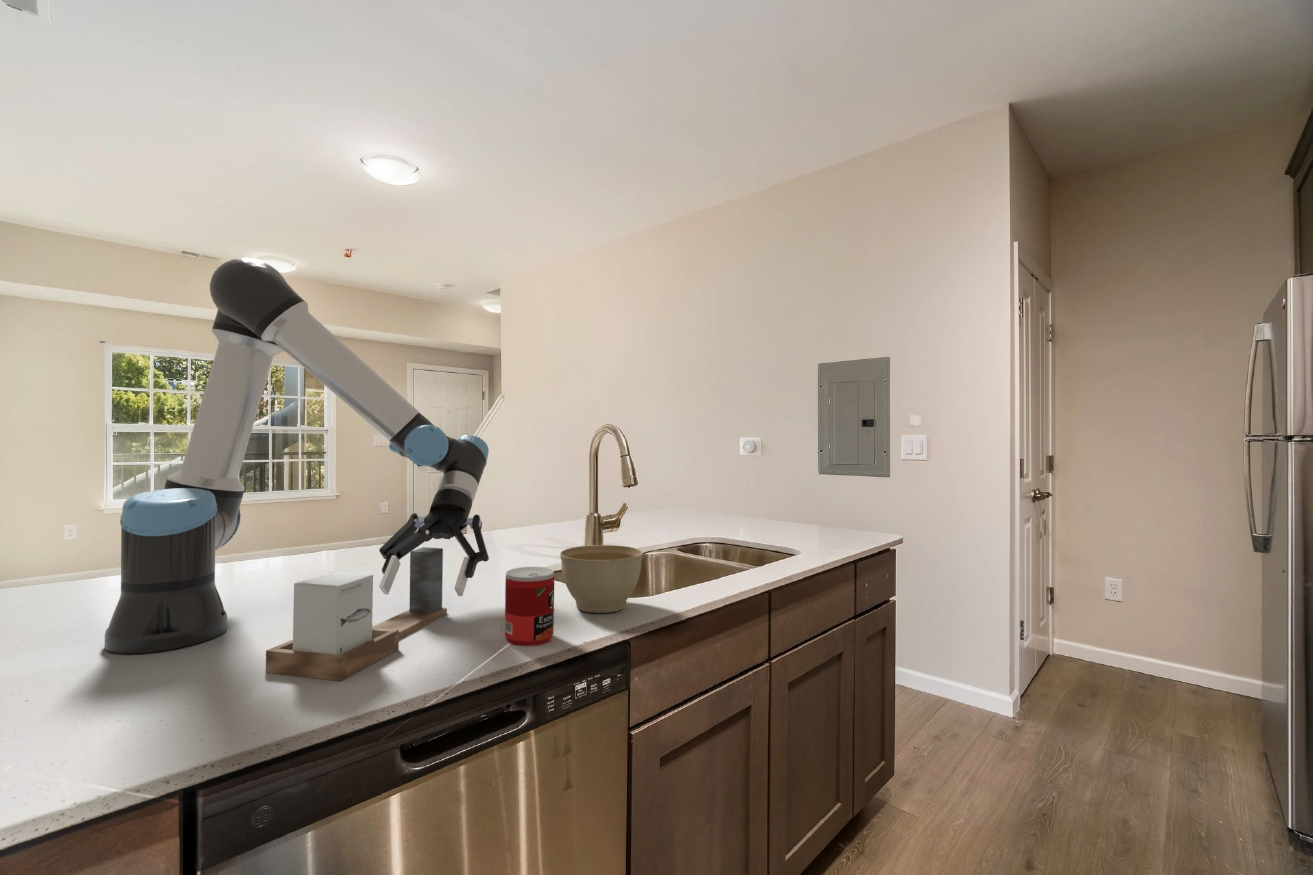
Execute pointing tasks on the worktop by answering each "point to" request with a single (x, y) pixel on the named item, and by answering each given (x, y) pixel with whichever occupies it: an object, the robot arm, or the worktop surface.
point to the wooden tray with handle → (384, 635)
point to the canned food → (529, 606)
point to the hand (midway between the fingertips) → (420, 591)
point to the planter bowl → (601, 575)
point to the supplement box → (332, 613)
